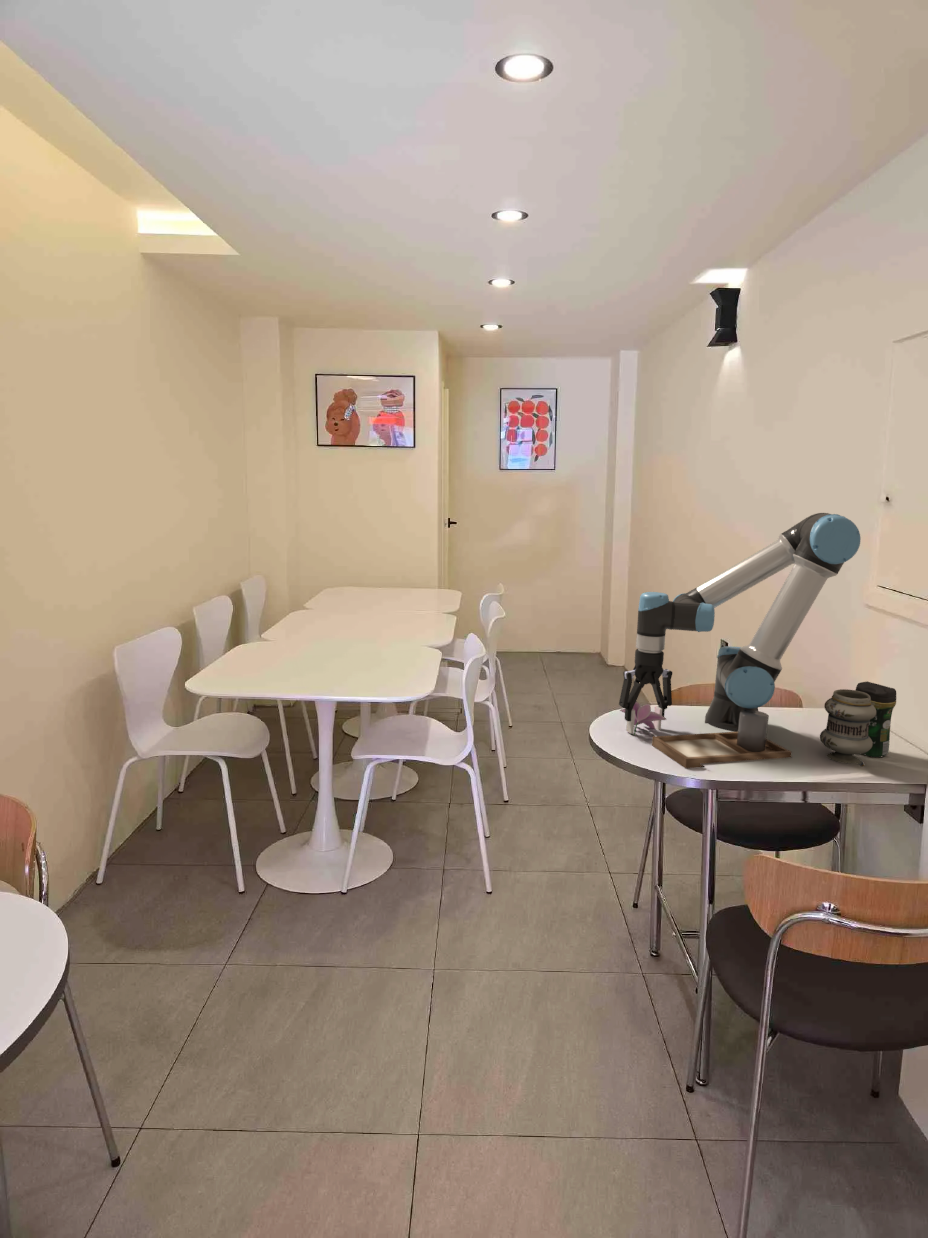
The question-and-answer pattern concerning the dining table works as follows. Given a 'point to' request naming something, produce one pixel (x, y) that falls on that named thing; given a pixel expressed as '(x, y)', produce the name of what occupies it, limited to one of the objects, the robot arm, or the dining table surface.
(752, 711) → the grey rounded cylinder
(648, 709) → the lily
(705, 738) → the tray
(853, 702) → the apothecary jar
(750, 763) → the dining table surface
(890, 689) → the coffee jar
